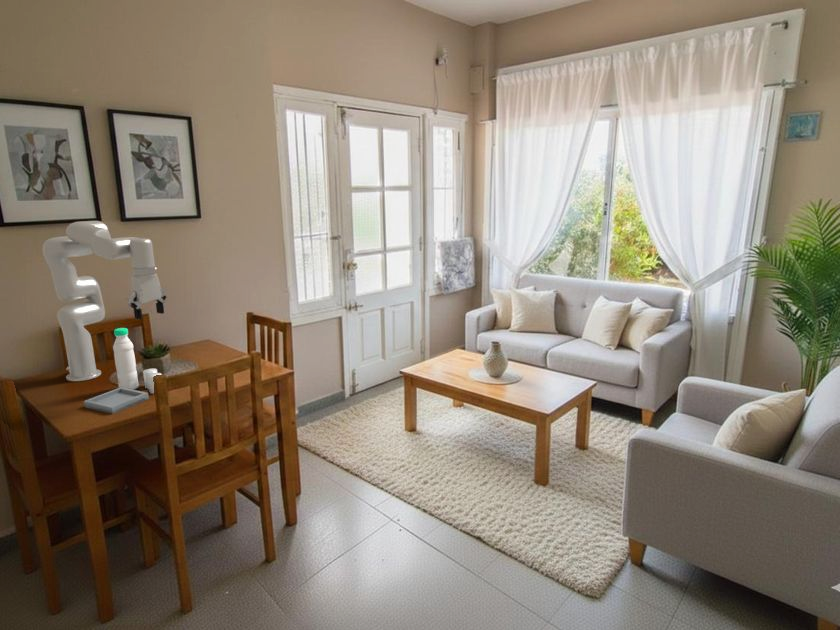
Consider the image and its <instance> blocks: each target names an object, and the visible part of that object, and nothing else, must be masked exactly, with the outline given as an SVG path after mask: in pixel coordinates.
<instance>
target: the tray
mask: <svg viewBox="0 0 840 630" xmlns="http://www.w3.org/2000/svg"><path fill="white" fill-rule="evenodd" d="M149 399H150V397H149V392H147V391H140V390H137V389H134V390H132V389H127V388H122V387H120V388H119V387H117V388H115V389H112V390H110V391H107V392H104V393H101V394H99V395H96V396H94V397H91V398H88V399H86V400H83V404H84V408H86V409H91V410H95V411H99V412H103V413H108V414H111V415H114V414H116V413H119V412H121V411H123V410H125V409H128V408H130V407H132V406H135V405H138V404H140V403H142V402H144V401H147V400H149Z"/></svg>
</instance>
